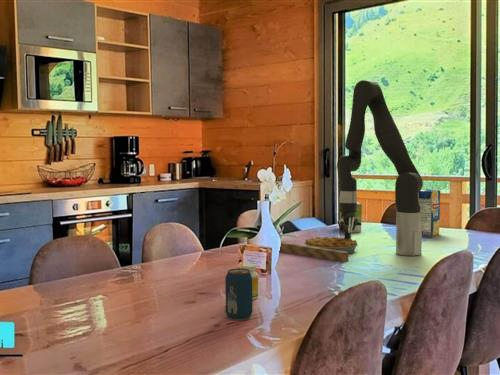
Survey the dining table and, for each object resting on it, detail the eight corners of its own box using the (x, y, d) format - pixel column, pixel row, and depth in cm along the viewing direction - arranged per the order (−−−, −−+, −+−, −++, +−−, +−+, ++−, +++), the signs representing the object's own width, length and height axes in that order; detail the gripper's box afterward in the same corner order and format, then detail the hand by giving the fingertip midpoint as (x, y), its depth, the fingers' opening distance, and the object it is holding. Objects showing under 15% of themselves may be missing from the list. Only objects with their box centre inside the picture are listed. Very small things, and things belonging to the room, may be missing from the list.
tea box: (361, 232, 292) (362, 203, 291) (342, 232, 292) (342, 203, 291) (357, 228, 307) (357, 200, 306) (338, 228, 307) (338, 200, 306)
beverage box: (417, 235, 282) (418, 190, 281) (426, 232, 291) (427, 189, 289) (430, 236, 278) (432, 191, 276) (439, 234, 286) (440, 190, 285)
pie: (340, 244, 255) (340, 233, 255) (367, 253, 235) (367, 241, 234) (296, 248, 247) (296, 236, 246) (320, 257, 226) (320, 244, 226)
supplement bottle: (240, 300, 162) (240, 267, 161) (238, 295, 167) (238, 263, 167) (259, 300, 162) (259, 266, 162) (257, 295, 168) (257, 262, 167)
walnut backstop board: (348, 260, 218) (348, 251, 218) (343, 262, 216) (343, 252, 216) (277, 249, 243) (277, 240, 243) (272, 250, 241) (272, 241, 241)
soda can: (252, 312, 150) (252, 267, 149) (252, 320, 143) (253, 273, 142) (225, 313, 150) (225, 267, 149) (225, 321, 143) (225, 273, 142)
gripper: (346, 203, 241) (345, 243, 242) (364, 200, 250) (363, 240, 251) (332, 201, 246) (331, 241, 247) (349, 199, 255) (349, 238, 257)
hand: (347, 240), depth 249 cm, fingers closed
